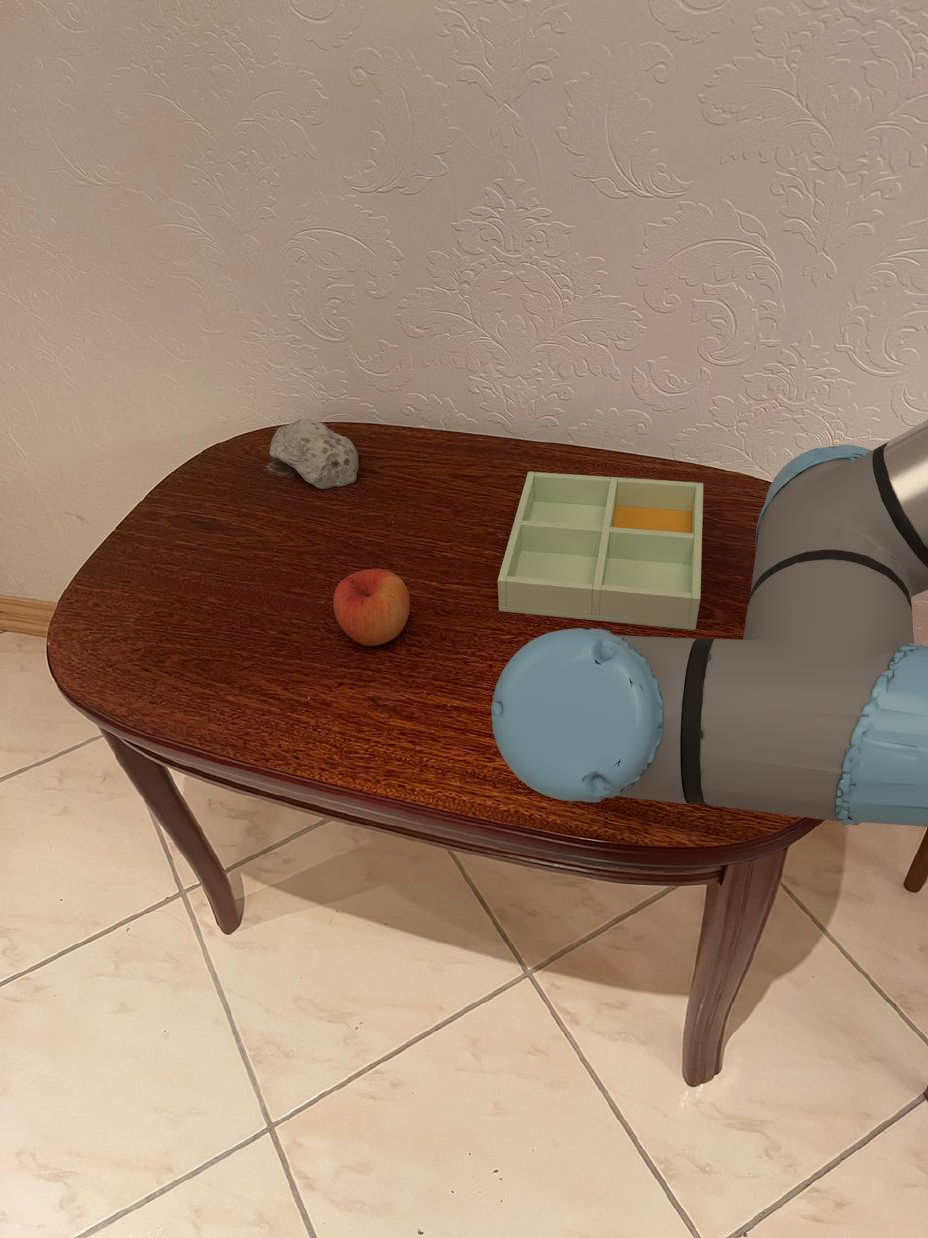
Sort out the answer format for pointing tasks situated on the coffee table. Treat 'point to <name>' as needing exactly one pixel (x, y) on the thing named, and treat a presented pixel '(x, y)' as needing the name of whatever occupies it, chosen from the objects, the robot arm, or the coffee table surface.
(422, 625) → the coffee table surface
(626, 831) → the coffee table surface
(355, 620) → the apple
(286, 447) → the decorative stone
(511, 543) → the grid
